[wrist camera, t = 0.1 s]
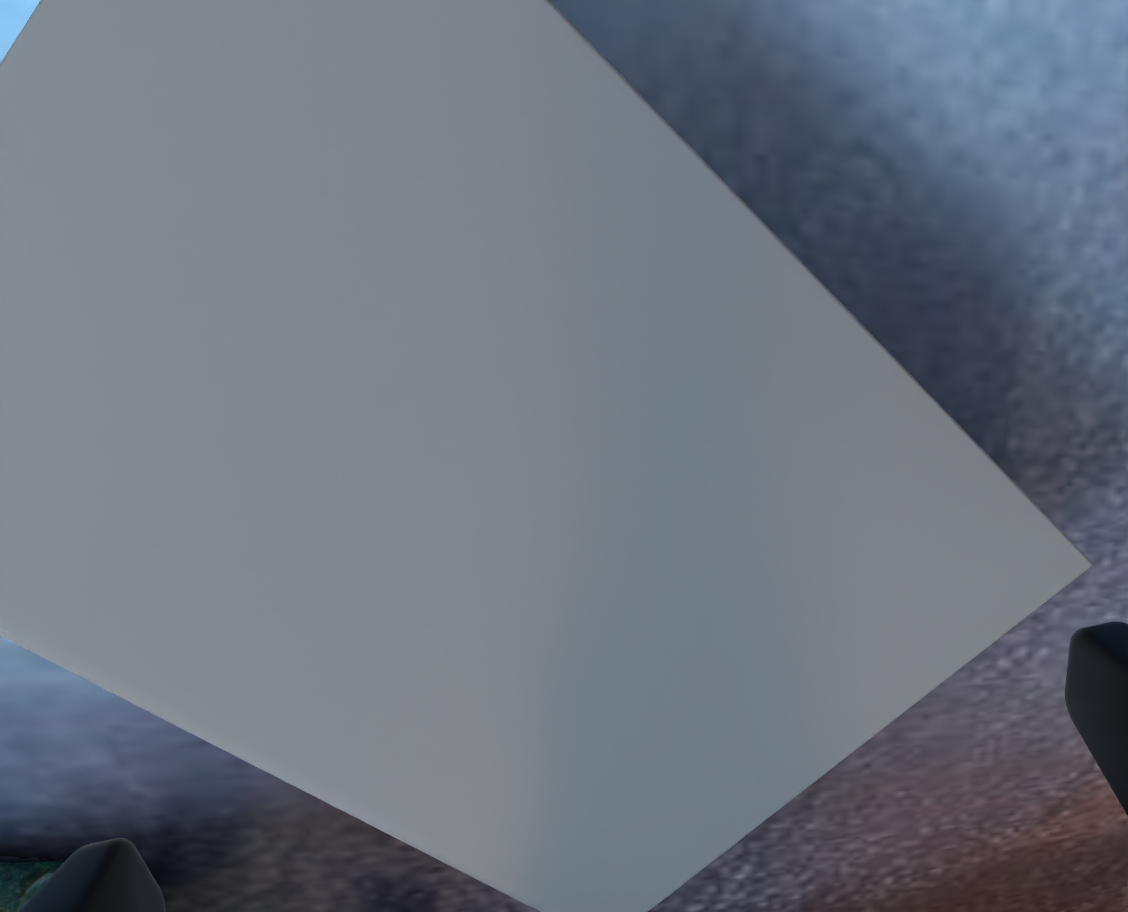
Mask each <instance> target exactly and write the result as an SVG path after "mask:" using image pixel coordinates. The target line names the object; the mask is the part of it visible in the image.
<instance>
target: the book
mask: <svg viewBox="0 0 1128 912" xmlns="http://www.w3.org/2000/svg"><path fill="white" fill-rule="evenodd" d="M1092 565H1093V563H1092V562H1091V561H1090V560H1089V559H1088V558H1087V557H1086V556H1085V555H1084V554H1083V553H1082V552H1081V551H1080V550H1079V549H1078V548H1077V547H1076V545H1075V544H1074V543H1073V542H1072V541H1071V540H1070V539H1069V538H1068V537H1067V536H1066V535H1065V534H1064V533H1063V532H1062V531H1061V530H1060V529H1059V528H1058V527H1057V526H1056V525H1055V524H1054V523H1053V522H1052V521H1051V520H1050V518H1049V517H1048V516H1047V515H1046V514H1045V513H1044V512H1043V511H1042V510H1041V509H1040V508H1039V507H1038V506H1037V505H1036V504H1035V503H1034V502H1033V501H1032V500H1031V499H1030V498H1029V497H1028V496H1027V495H1026V494H1025V493H1024V492H1023V491H1022V489H1021V488H1020V487H1019V486H1018V485H1017V484H1016V483H1015V482H1014V481H1013V480H1012V479H1011V478H1010V477H1009V476H1008V475H1007V474H1006V473H1005V472H1004V471H1003V470H1002V469H1001V468H1000V467H999V466H998V465H997V464H996V463H995V462H994V460H993V459H992V458H991V457H990V456H989V455H988V454H987V453H986V452H985V451H984V450H983V449H982V448H981V447H980V446H979V445H978V444H977V443H976V442H975V441H974V440H973V439H972V438H971V437H970V436H969V435H968V434H967V433H966V431H965V430H964V429H963V428H962V427H961V426H960V425H959V424H958V423H957V422H956V421H955V420H954V419H953V418H952V417H951V416H950V415H949V414H948V413H947V412H946V411H945V410H944V409H943V408H942V407H941V406H940V405H939V403H938V402H937V401H936V400H935V399H934V398H933V397H932V396H931V395H930V394H929V393H928V392H927V391H926V390H925V389H924V388H923V387H922V386H921V385H920V384H919V383H918V382H917V381H916V380H915V379H914V378H913V377H912V376H911V374H910V373H909V372H908V371H907V370H906V369H905V368H904V367H903V366H902V365H901V364H900V363H899V362H898V361H897V360H896V359H895V358H894V357H893V356H892V355H891V354H890V353H889V352H888V351H887V350H886V349H885V348H884V347H883V345H882V344H881V343H880V342H879V341H878V340H877V339H876V338H875V337H874V336H873V335H872V334H871V333H870V332H869V331H868V330H867V329H866V328H865V327H864V326H863V325H862V324H861V323H860V322H859V321H858V320H857V319H856V318H855V316H854V315H853V314H852V313H851V312H850V311H849V310H848V309H847V308H846V307H845V306H844V305H843V304H842V303H841V302H840V301H839V300H838V299H837V298H836V297H835V296H834V295H833V294H832V293H831V292H830V291H829V290H828V289H827V287H826V286H825V285H824V284H823V283H822V282H821V281H820V280H819V279H818V278H817V277H816V276H815V275H814V274H813V273H812V272H811V271H810V270H809V269H808V268H807V267H806V266H805V265H804V264H803V263H802V262H801V261H800V259H799V258H798V257H797V256H796V255H795V254H794V253H793V252H792V251H791V250H790V249H789V248H788V247H787V246H786V245H785V244H784V243H783V242H782V241H781V240H780V239H779V238H778V237H777V236H776V235H775V234H774V233H773V232H772V230H771V229H770V228H769V227H768V226H767V225H766V224H765V223H764V222H763V221H762V220H761V219H760V218H759V217H758V216H757V215H756V214H755V213H754V212H753V211H752V210H751V209H750V208H749V207H748V206H747V205H746V204H745V203H744V201H743V200H742V199H741V198H740V197H739V196H738V195H737V194H736V193H735V192H734V191H733V190H732V189H731V188H730V187H729V186H728V185H727V184H726V183H725V182H724V181H723V180H722V179H721V178H720V177H719V176H718V175H717V174H716V172H715V171H714V170H713V169H712V168H711V167H710V166H709V165H708V164H707V163H706V162H705V161H704V160H703V159H702V158H701V157H700V156H699V155H698V154H697V153H696V152H695V151H694V150H693V149H692V148H691V147H690V146H689V144H688V143H687V142H686V141H685V140H684V139H683V138H682V137H681V136H680V135H679V134H678V133H677V132H676V131H675V130H674V129H673V128H672V127H671V126H670V125H669V124H668V123H667V122H666V121H665V120H664V119H663V118H662V117H661V115H660V114H659V113H658V112H657V111H656V110H655V109H654V108H653V107H652V106H651V105H650V104H649V103H648V102H647V101H646V100H645V99H644V98H643V97H642V96H641V95H640V94H639V93H638V92H637V91H636V90H635V89H634V88H633V86H632V85H631V84H630V83H629V82H628V81H627V80H626V79H625V78H624V77H623V76H622V75H621V74H620V73H619V72H618V71H617V70H616V69H615V68H614V67H613V66H612V65H611V64H610V63H609V62H608V61H607V60H606V59H605V57H604V56H603V55H602V54H601V53H600V52H599V51H598V50H597V49H596V48H595V47H594V46H593V45H592V44H591V43H590V42H589V41H588V40H587V39H586V38H585V37H584V36H583V35H582V34H581V33H580V32H579V31H578V30H577V28H576V27H575V26H574V25H573V24H572V23H571V22H570V21H569V20H568V19H567V18H566V17H565V16H564V15H563V14H562V13H561V12H560V11H559V10H558V9H557V8H556V7H555V6H554V5H553V4H552V3H551V2H550V1H549V0H41V1H40V2H39V4H38V6H37V7H36V9H35V10H34V12H33V13H32V15H31V16H30V18H29V20H28V21H27V23H26V24H25V26H24V27H23V29H22V31H21V32H20V34H19V35H18V37H17V38H16V40H15V41H14V43H13V45H12V46H11V48H10V49H9V51H8V52H7V54H6V56H5V57H4V59H3V60H2V62H1V63H0V636H2V637H4V638H6V639H7V640H9V641H11V642H13V643H15V644H17V645H19V646H21V647H23V648H25V649H27V650H29V651H31V652H33V653H35V654H37V655H39V656H41V657H43V658H45V659H47V660H49V661H51V662H52V663H54V664H56V665H58V666H60V667H62V668H64V669H66V670H68V671H70V672H72V673H74V674H76V675H78V676H80V677H82V678H84V679H86V680H88V681H90V682H92V683H94V684H96V685H97V686H99V687H101V688H103V689H105V690H107V691H109V692H111V693H113V694H115V695H117V696H119V697H121V698H123V699H125V700H127V701H129V702H131V703H133V704H135V705H137V706H139V707H141V708H142V709H144V710H146V711H148V712H150V713H152V714H154V715H156V716H158V717H160V718H162V719H164V720H166V721H168V722H170V723H172V724H174V725H176V726H178V727H180V728H182V729H184V730H186V731H188V732H189V733H191V734H193V735H195V736H197V737H199V738H201V739H203V740H205V741H207V742H209V743H211V744H213V745H215V746H217V747H219V748H221V749H223V750H225V751H227V752H229V753H231V754H233V755H234V756H236V757H238V758H240V759H242V760H244V761H246V762H248V763H250V764H252V765H254V766H256V767H258V768H260V769H262V770H264V771H266V772H268V773H270V774H272V775H274V776H276V777H278V778H279V779H281V780H283V781H285V782H287V783H289V784H291V785H293V786H295V787H297V788H299V789H301V790H303V791H305V792H307V793H309V794H311V795H313V796H315V797H317V798H319V799H321V800H323V801H325V802H326V803H328V804H330V805H332V806H334V807H336V808H338V809H340V810H342V811H344V812H346V813H348V814H350V815H352V816H354V817H356V818H358V819H360V820H362V821H364V822H366V823H368V824H370V825H371V826H373V827H375V828H377V829H379V830H381V831H383V832H385V833H387V834H389V835H391V836H393V837H395V838H397V839H399V840H401V841H403V842H405V843H407V844H409V845H411V846H413V847H415V848H416V849H418V850H420V851H422V852H424V853H426V854H428V855H430V856H432V857H434V858H436V859H438V860H440V861H442V862H444V863H446V864H448V865H450V866H452V867H454V868H456V869H458V870H460V871H461V872H463V873H465V874H467V875H469V876H471V877H473V878H475V879H477V880H479V881H481V882H483V883H485V884H487V885H489V886H491V887H493V888H495V889H497V890H499V891H501V892H503V893H505V894H507V895H508V896H510V897H512V898H514V899H516V900H518V901H520V902H522V903H524V904H526V905H528V906H530V907H532V908H534V909H536V910H538V911H540V912H648V911H650V910H651V909H652V908H653V907H655V906H656V905H657V904H659V903H660V902H661V901H662V900H664V899H665V898H666V897H668V896H669V895H670V894H671V893H673V892H674V891H675V890H677V889H678V888H679V887H680V886H682V885H683V884H684V883H685V882H687V881H688V880H689V879H691V878H692V877H693V876H694V875H696V874H697V873H698V872H700V871H701V870H702V869H703V868H705V867H706V866H707V865H709V864H710V863H711V862H712V861H714V860H715V859H716V858H718V857H719V856H720V855H721V854H723V853H724V852H725V851H727V850H728V849H729V848H730V847H732V846H733V845H734V844H736V843H737V842H738V841H739V840H741V839H742V838H743V837H745V836H746V835H747V834H748V833H750V832H751V831H752V830H753V829H755V828H756V827H757V826H759V825H760V824H761V823H762V822H764V821H765V820H766V819H768V818H769V817H770V816H771V815H773V814H774V813H775V812H777V811H778V810H779V809H780V808H782V807H783V806H784V805H786V804H787V803H788V802H789V801H791V800H792V799H793V798H795V797H796V796H797V795H798V794H800V793H801V792H802V791H804V790H805V789H806V788H807V787H809V786H810V785H811V784H813V783H814V782H815V781H816V780H818V779H819V778H820V777H821V776H823V775H824V774H825V773H827V772H828V771H829V770H830V769H832V768H833V767H834V766H836V765H837V764H838V763H839V762H841V761H842V760H843V759H845V758H846V757H847V756H848V755H850V754H851V753H852V752H854V751H855V750H856V749H857V748H859V747H860V746H861V745H863V744H864V743H865V742H866V741H868V740H869V739H870V738H872V737H873V736H874V735H875V734H877V733H878V732H879V731H881V730H882V729H883V728H884V727H886V726H887V725H888V724H889V723H891V722H892V721H893V720H895V719H896V718H897V717H898V716H900V715H901V714H902V713H904V712H905V711H906V710H907V709H909V708H910V707H911V706H913V705H914V704H915V703H916V702H918V701H919V700H920V699H922V698H923V697H924V696H925V695H927V694H928V693H929V692H931V691H932V690H933V689H934V688H936V687H937V686H938V685H940V684H941V683H942V682H943V681H945V680H946V679H947V678H949V677H950V676H951V675H952V674H954V673H955V672H956V671H957V670H959V669H960V668H961V667H963V666H964V665H965V664H966V663H968V662H969V661H970V660H972V659H973V658H974V657H975V656H977V655H978V654H979V653H981V652H982V651H983V650H984V649H986V648H987V647H988V646H990V645H991V644H992V643H993V642H995V641H996V640H997V639H999V638H1000V637H1001V636H1002V635H1004V634H1005V633H1006V632H1008V631H1009V630H1010V629H1011V628H1013V627H1014V626H1015V625H1017V624H1018V623H1019V622H1020V621H1022V620H1023V619H1024V618H1025V617H1027V616H1028V615H1029V614H1031V613H1032V612H1033V611H1034V610H1036V609H1037V608H1038V607H1040V606H1041V605H1042V604H1043V603H1045V602H1046V601H1047V600H1049V599H1050V598H1051V597H1052V596H1054V595H1055V594H1056V593H1058V592H1059V591H1060V590H1061V589H1063V588H1064V587H1065V586H1067V585H1068V584H1069V583H1070V582H1072V581H1073V580H1074V579H1076V578H1077V577H1078V576H1079V575H1081V574H1082V573H1083V572H1084V571H1086V570H1087V569H1088V568H1090V567H1091V566H1092Z"/></svg>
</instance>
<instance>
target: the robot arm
mask: <svg viewBox="0 0 1128 912" xmlns="http://www.w3.org/2000/svg"><path fill="white" fill-rule="evenodd" d="M1065 699H1066V705H1067V709H1068V712H1069V714H1070V717H1071V719H1072V721H1073V722H1074V724H1075V726H1076V728H1077V729H1078V731H1079V733H1080V735H1081V736H1082V738H1083V740H1084V741H1085V743H1086V745H1087V747H1088V748H1089V750H1090V752H1091V754H1092V755H1093V757H1094V759H1095V760H1096V762H1097V764H1098V766H1099V767H1100V769H1101V771H1102V772H1103V774H1104V776H1105V778H1106V779H1107V781H1108V783H1109V784H1110V786H1111V788H1112V790H1113V791H1114V793H1115V795H1116V797H1117V798H1118V800H1119V802H1120V803H1121V805H1122V807H1123V809H1124V810H1125V812H1126V814H1127V815H1128V624H1126V623H1122V622H1109V623H1104V624H1100V625H1095V626H1091V627H1086V628H1082V629H1079V630H1077V631H1076V632H1075V633H1074V635H1073V636H1072V638H1071V642H1070V649H1069V659H1068V668H1067V678H1066V687H1065ZM18 912H166V907H165V901H164V897H163V894H162V891H161V889H160V887H159V886H158V884H157V882H156V881H155V879H154V877H153V876H152V874H151V872H150V871H149V869H148V867H147V866H146V864H145V862H144V861H143V859H142V857H141V856H140V854H139V852H138V851H137V849H136V847H135V846H134V845H133V843H132V842H131V841H129V840H127V839H125V838H115V839H110V840H106V841H101V842H97V843H92V844H88V845H85V846H83V847H80V848H79V849H77V850H76V851H75V852H74V853H73V854H72V855H71V856H70V857H69V858H68V859H67V860H66V861H65V862H64V863H63V864H62V865H61V866H60V867H59V868H58V869H57V871H56V872H55V873H54V874H53V875H52V876H51V877H50V878H49V879H48V880H47V881H46V882H45V883H44V884H43V885H42V886H41V888H40V889H39V890H38V891H37V892H36V893H35V894H34V895H33V896H32V897H31V898H30V899H29V900H28V901H27V902H26V904H25V905H24V906H23V907H22V908H21V909H20V910H19V911H18Z"/></svg>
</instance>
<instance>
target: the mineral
mask: <svg viewBox="0 0 1128 912" xmlns="http://www.w3.org/2000/svg"><path fill="white" fill-rule="evenodd" d="M65 861H66V860H61V859H56V860H54V861H49V860H47V859H45V858H44V857H43V858H42V859H41V860H39V858H36V857H29V858H26V859H22V858H20V857H0V912H18V911H19V910H20V909H21V908H22V907H23V906H24V905H25V904H26V902H27V901H28V900H29V899H30V898H31V897H32V896H33V895H34V894H35V893H36V892H37V891H38V890H39V889H40V888H41V886H42V885H43V884H44V883H45V882H46V881H47V880H48V879H49V878H50V877H51V876H52V875H53V874H54V873H55V872H56V871H57V869H58V868H59V867H60V866H61V865H62V864H63V863H64V862H65Z"/></svg>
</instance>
